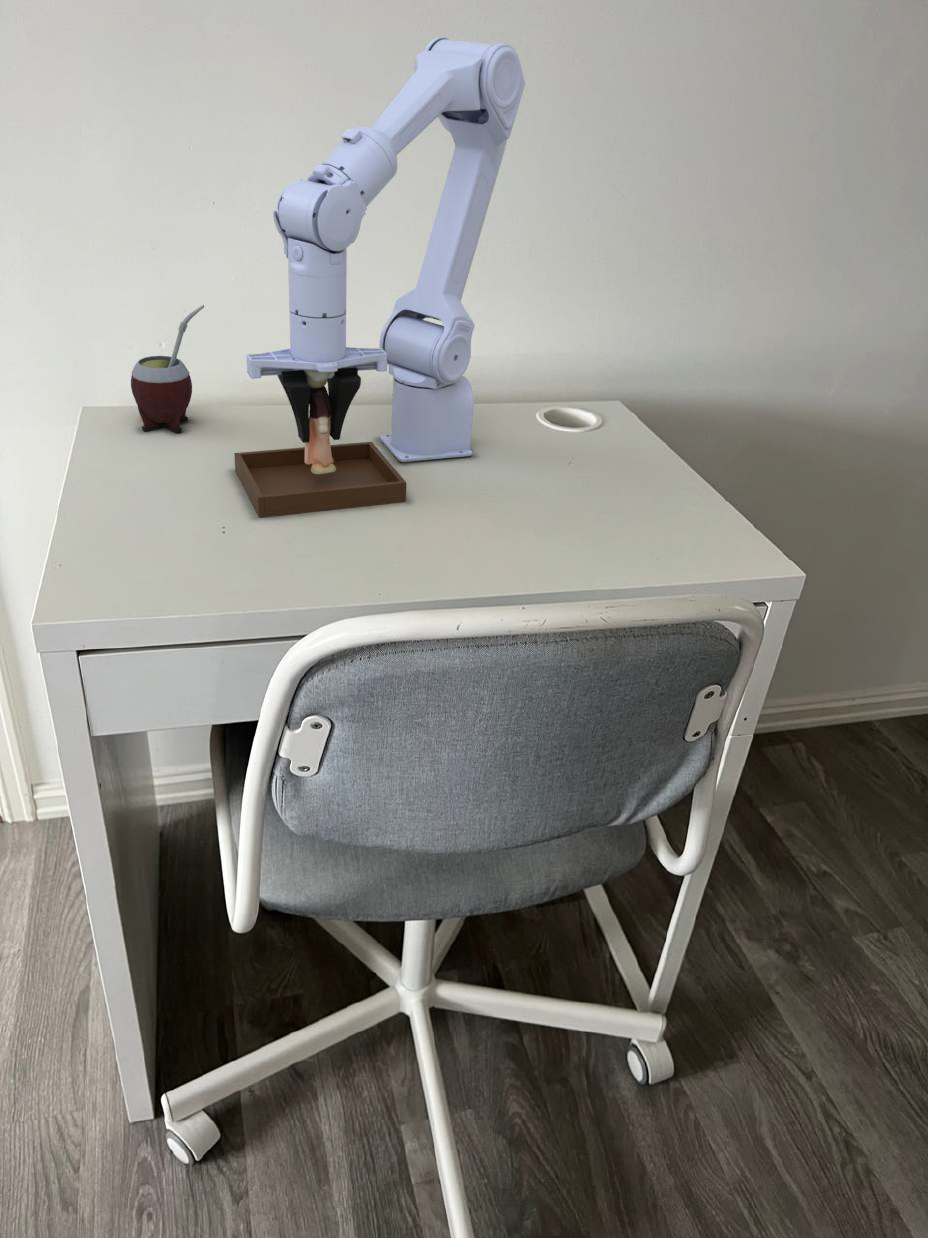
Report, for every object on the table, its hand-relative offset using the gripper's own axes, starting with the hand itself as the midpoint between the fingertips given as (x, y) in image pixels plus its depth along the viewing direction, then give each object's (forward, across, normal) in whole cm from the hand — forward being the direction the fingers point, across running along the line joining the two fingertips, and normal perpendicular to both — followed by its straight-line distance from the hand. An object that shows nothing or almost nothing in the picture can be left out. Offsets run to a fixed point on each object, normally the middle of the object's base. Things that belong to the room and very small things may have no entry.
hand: (318, 437), depth 105 cm
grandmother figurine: (+4, 0, 0) cm, 4 cm away
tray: (+6, 0, 0) cm, 6 cm away
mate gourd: (+6, -13, +22) cm, 26 cm away
